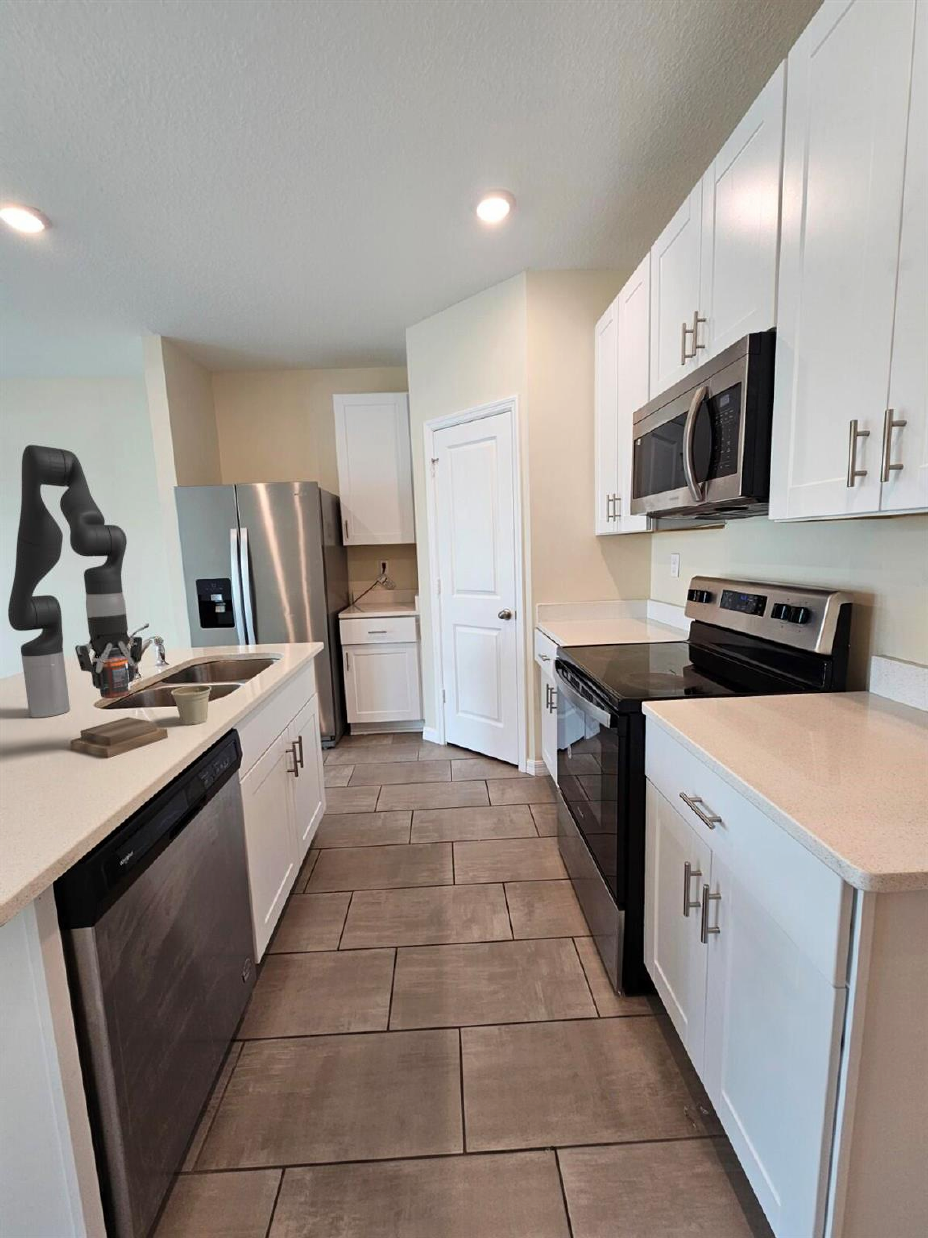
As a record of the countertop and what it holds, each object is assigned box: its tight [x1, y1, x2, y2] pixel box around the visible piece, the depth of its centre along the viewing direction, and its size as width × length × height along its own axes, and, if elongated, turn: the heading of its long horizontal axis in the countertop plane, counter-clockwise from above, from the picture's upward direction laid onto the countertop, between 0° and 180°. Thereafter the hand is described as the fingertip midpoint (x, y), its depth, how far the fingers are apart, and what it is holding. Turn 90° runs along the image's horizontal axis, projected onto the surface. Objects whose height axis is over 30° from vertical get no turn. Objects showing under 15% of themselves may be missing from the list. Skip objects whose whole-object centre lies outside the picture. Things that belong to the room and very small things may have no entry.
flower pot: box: [170, 684, 212, 726], centre depth 142 cm, size 9×9×9 cm
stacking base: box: [70, 716, 169, 759], centre depth 127 cm, size 14×14×4 cm
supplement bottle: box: [99, 648, 131, 699], centre depth 125 cm, size 6×6×11 cm
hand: (114, 684), depth 126 cm, fingers closed on supplement bottle, 6 cm apart
